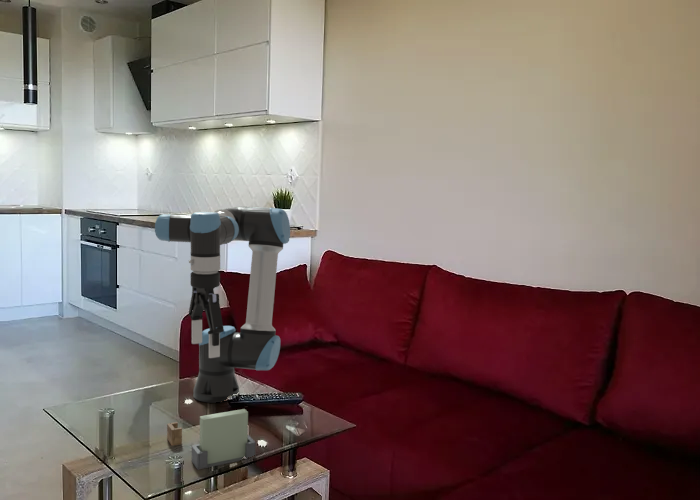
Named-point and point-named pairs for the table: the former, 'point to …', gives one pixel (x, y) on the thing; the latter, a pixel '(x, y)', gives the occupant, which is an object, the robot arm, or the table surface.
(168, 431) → the rack
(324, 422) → the table surface
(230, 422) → the sheet
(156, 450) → the table surface
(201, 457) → the display stand
